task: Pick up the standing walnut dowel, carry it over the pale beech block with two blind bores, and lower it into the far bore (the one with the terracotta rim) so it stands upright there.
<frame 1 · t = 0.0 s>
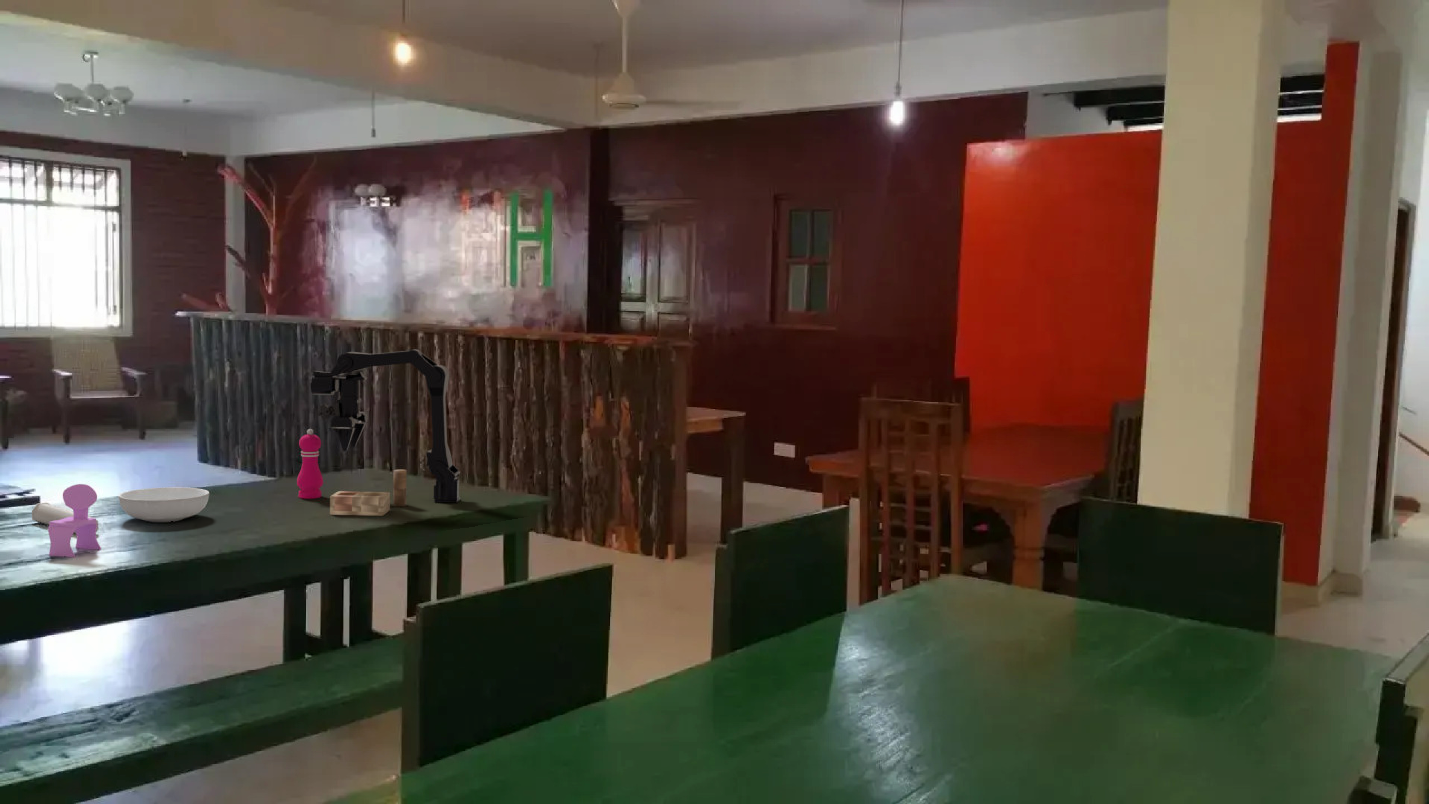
hand: (349, 449, 316), 15 cm above the table, tool pointing down, fingers open, 9 cm apart
serving bowl: (164, 520, 281), on the table
tube: (67, 530, 266), on the table
bore block: (360, 512, 298), on the table
toy chair: (74, 553, 242), on the table
pepper mill: (310, 497, 319), on the table
dowel: (399, 505, 311), on the table
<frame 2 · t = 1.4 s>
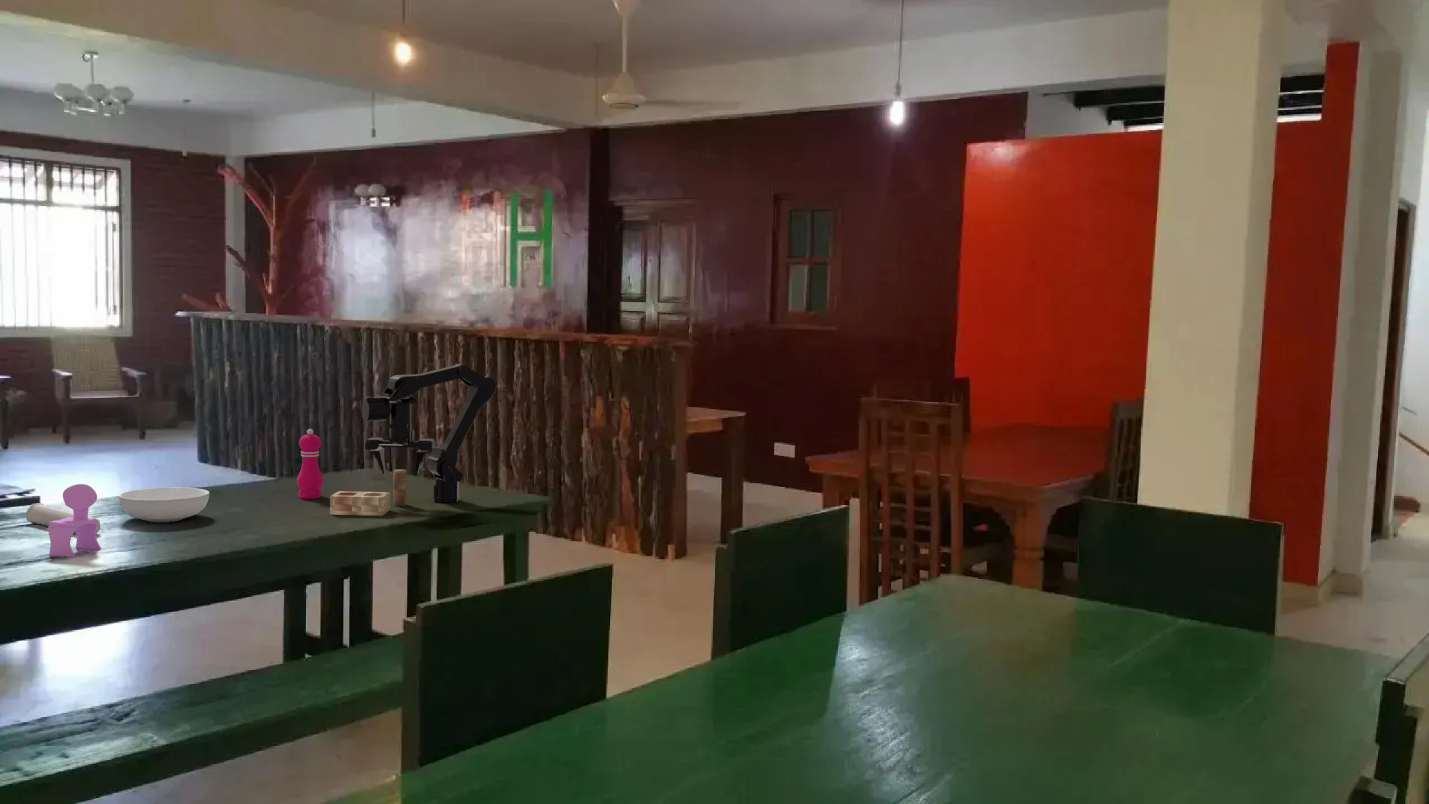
hand: (400, 474, 310), 9 cm above the table, tool pointing down, fingers open, 9 cm apart
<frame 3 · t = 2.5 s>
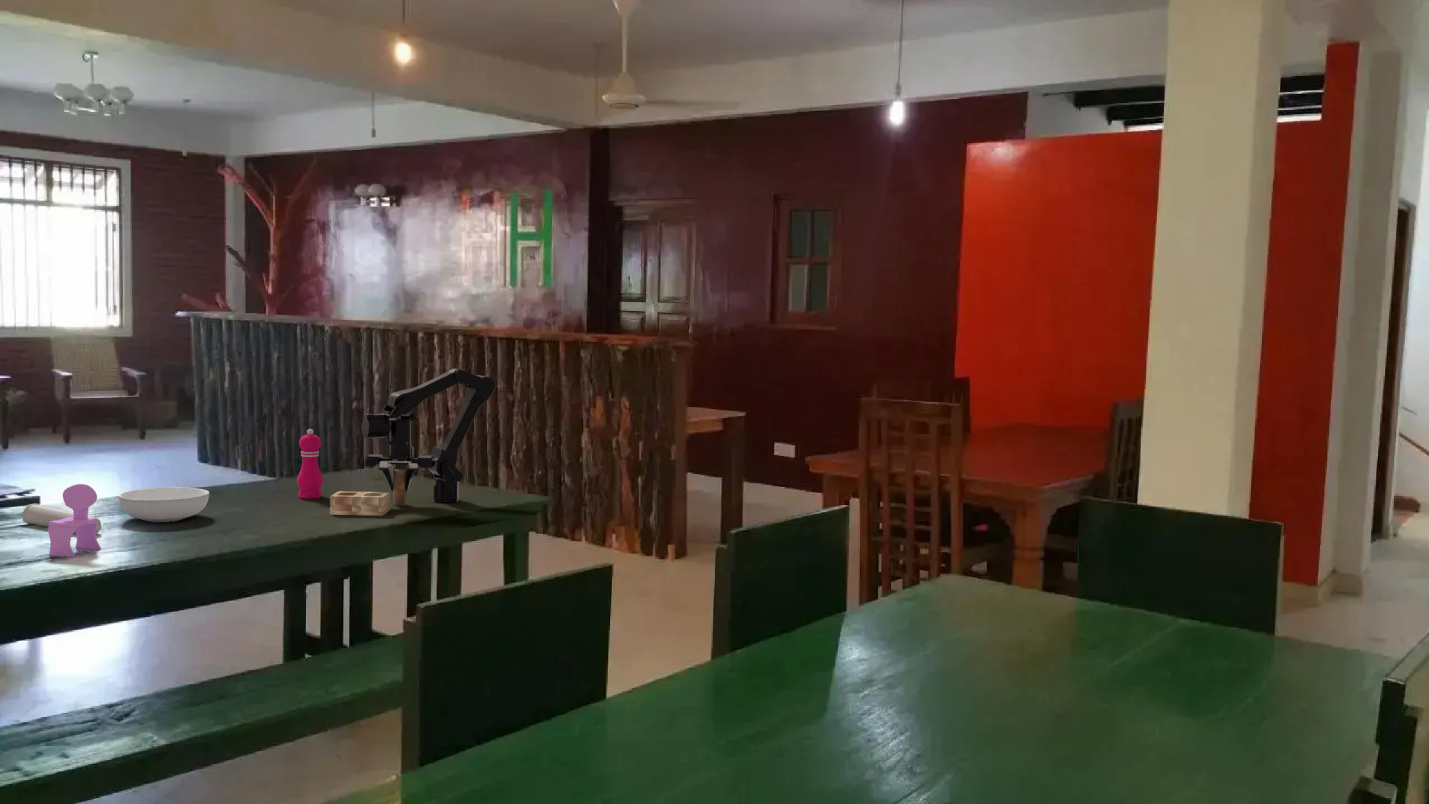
hand: (399, 491, 311), 4 cm above the table, tool pointing down, fingers closed on dowel, 4 cm apart
dowel: (399, 505, 311), on the table, touching gripper
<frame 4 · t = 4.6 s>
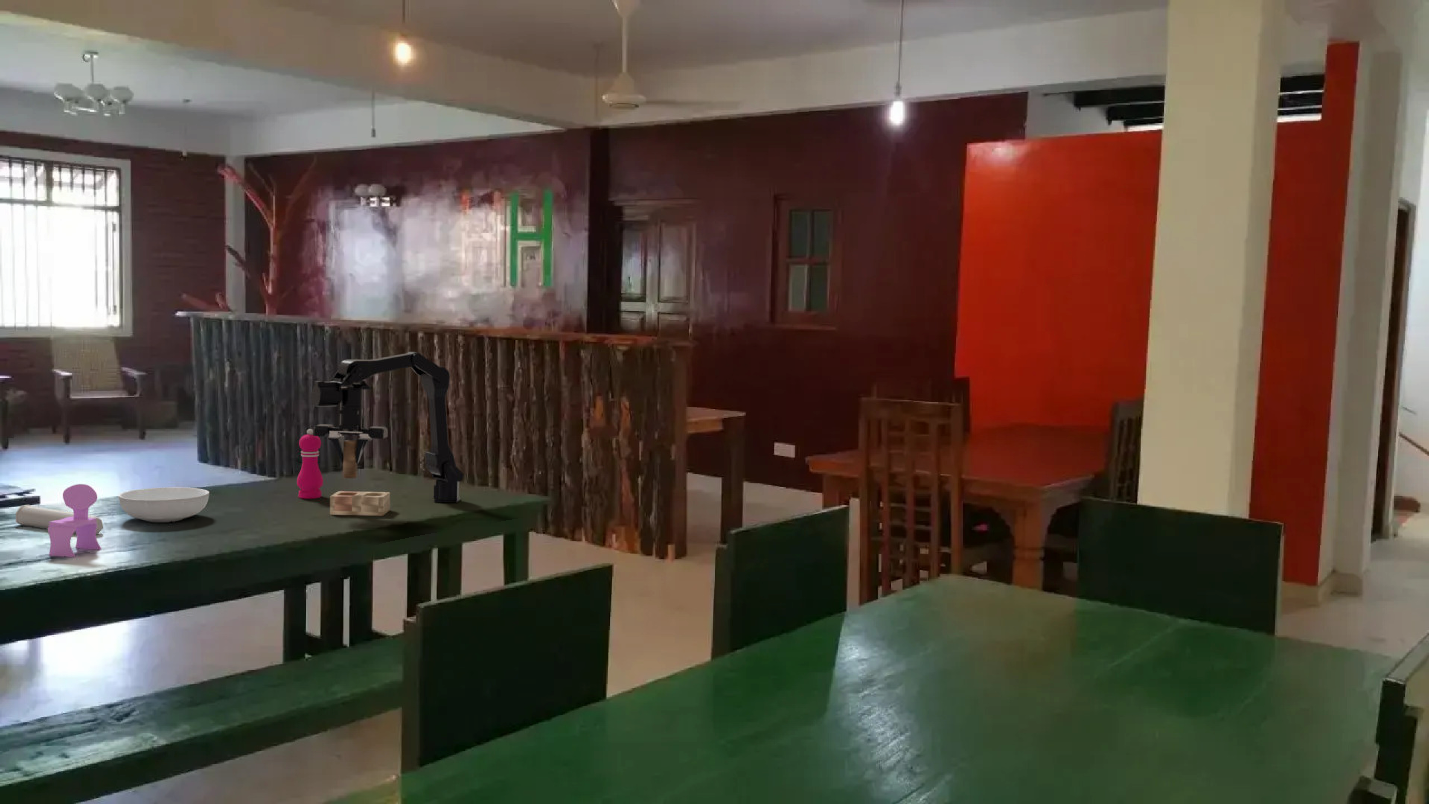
hand: (350, 462, 298), 14 cm above the table, tool pointing down, fingers closed on dowel, 4 cm apart
dowel: (349, 477, 298), point 10 cm above the table, touching gripper
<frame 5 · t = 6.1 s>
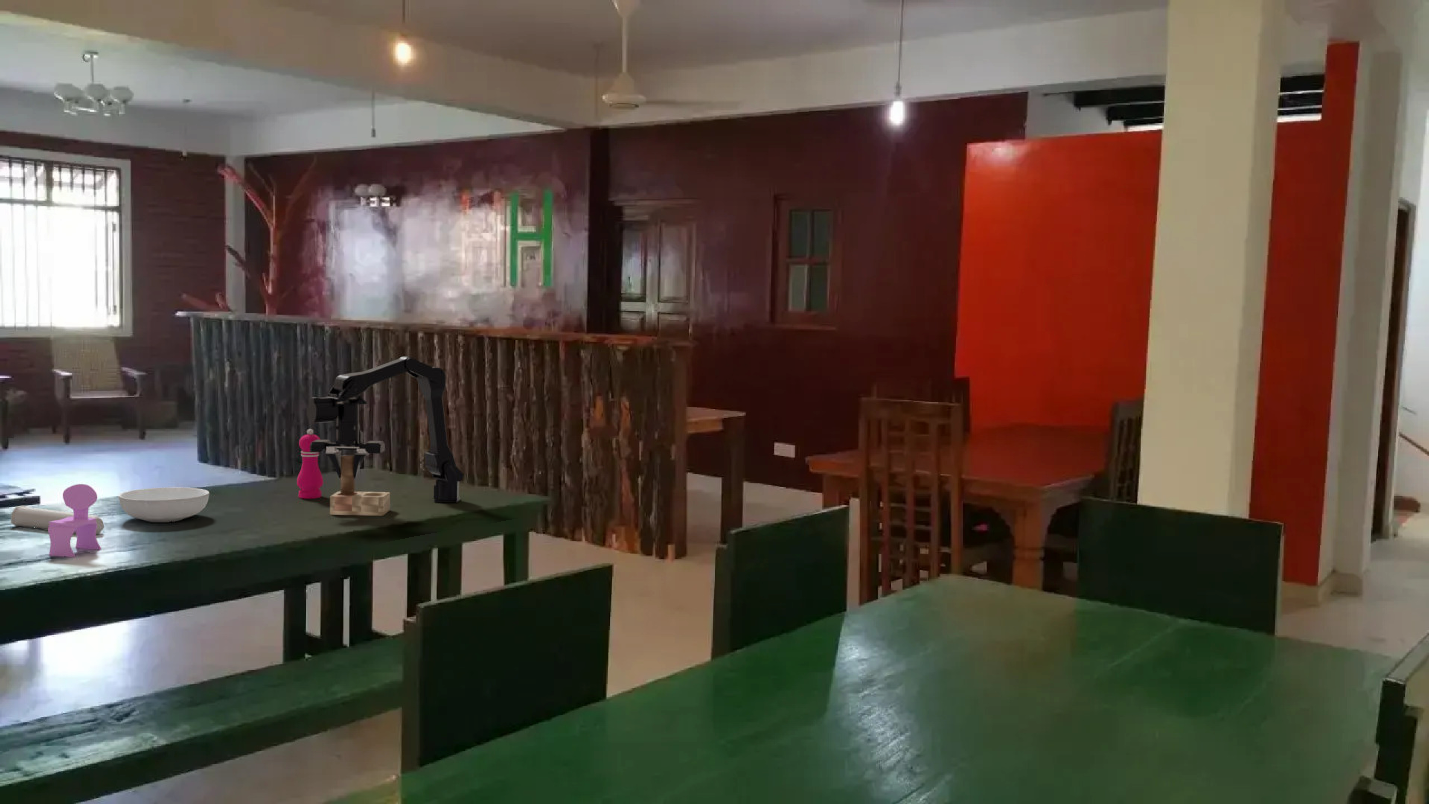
hand: (347, 477, 297), 9 cm above the table, tool pointing down, fingers closed on dowel, 4 cm apart
dowel: (347, 492, 298), point 5 cm above the table, touching gripper
when the fingers open (6 cm above the table, at t = 7.0 s): dowel drops 1 cm, resting on bore block.
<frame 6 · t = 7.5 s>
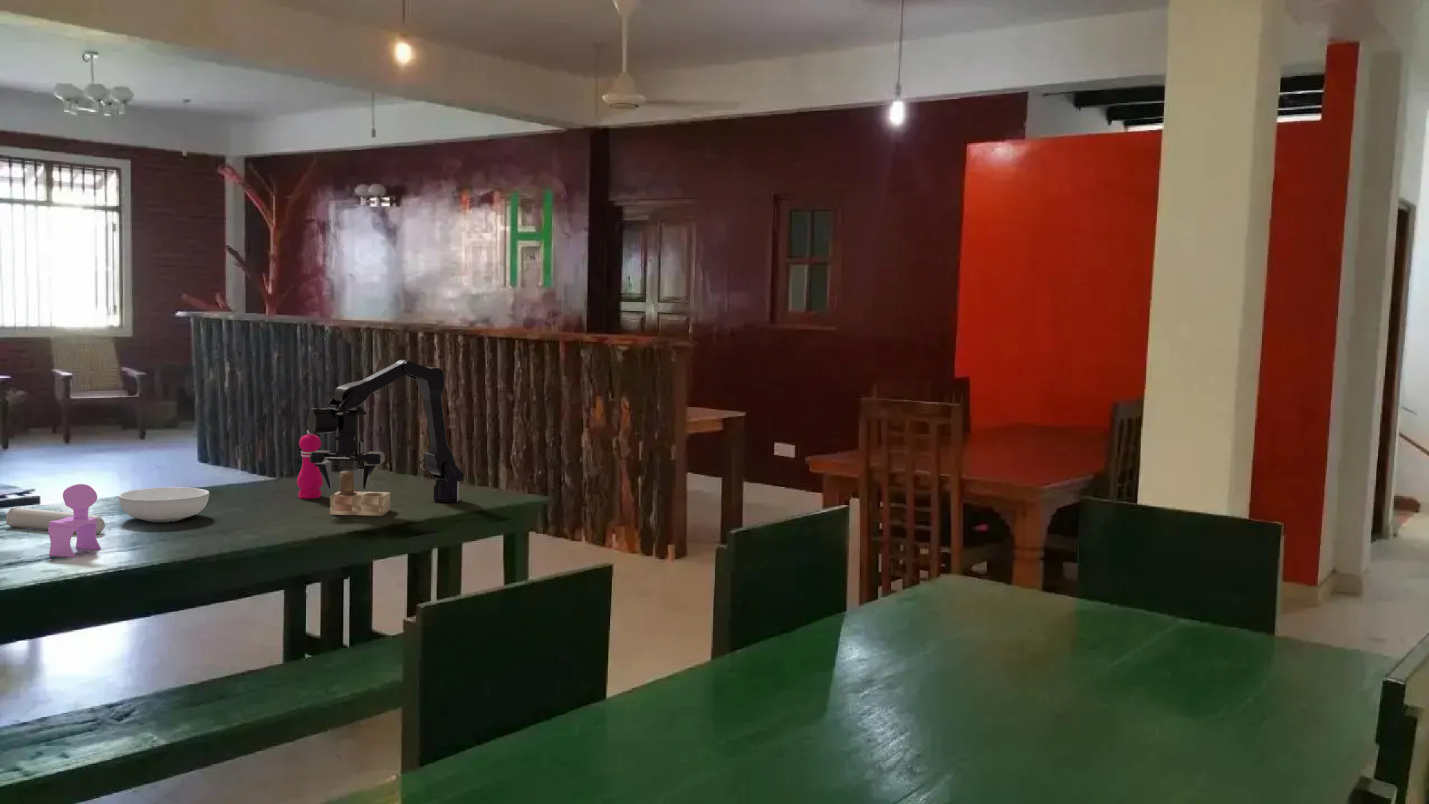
hand: (347, 488, 298), 6 cm above the table, tool pointing down, fingers open, 9 cm apart
dowel: (347, 508, 298), point 1 cm above the table, touching bore block
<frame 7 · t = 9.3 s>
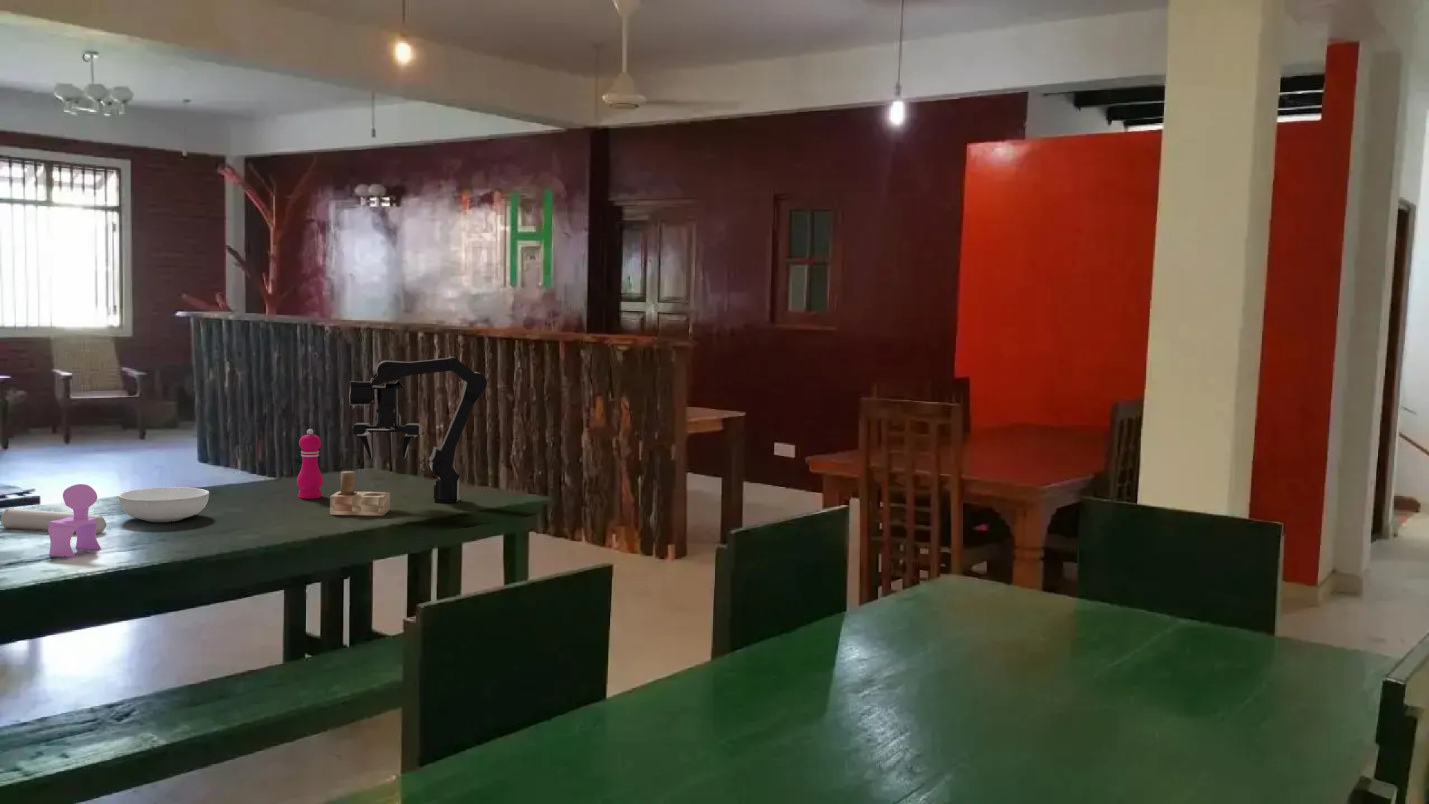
hand: (387, 458, 313), 13 cm above the table, tool pointing down, fingers open, 9 cm apart
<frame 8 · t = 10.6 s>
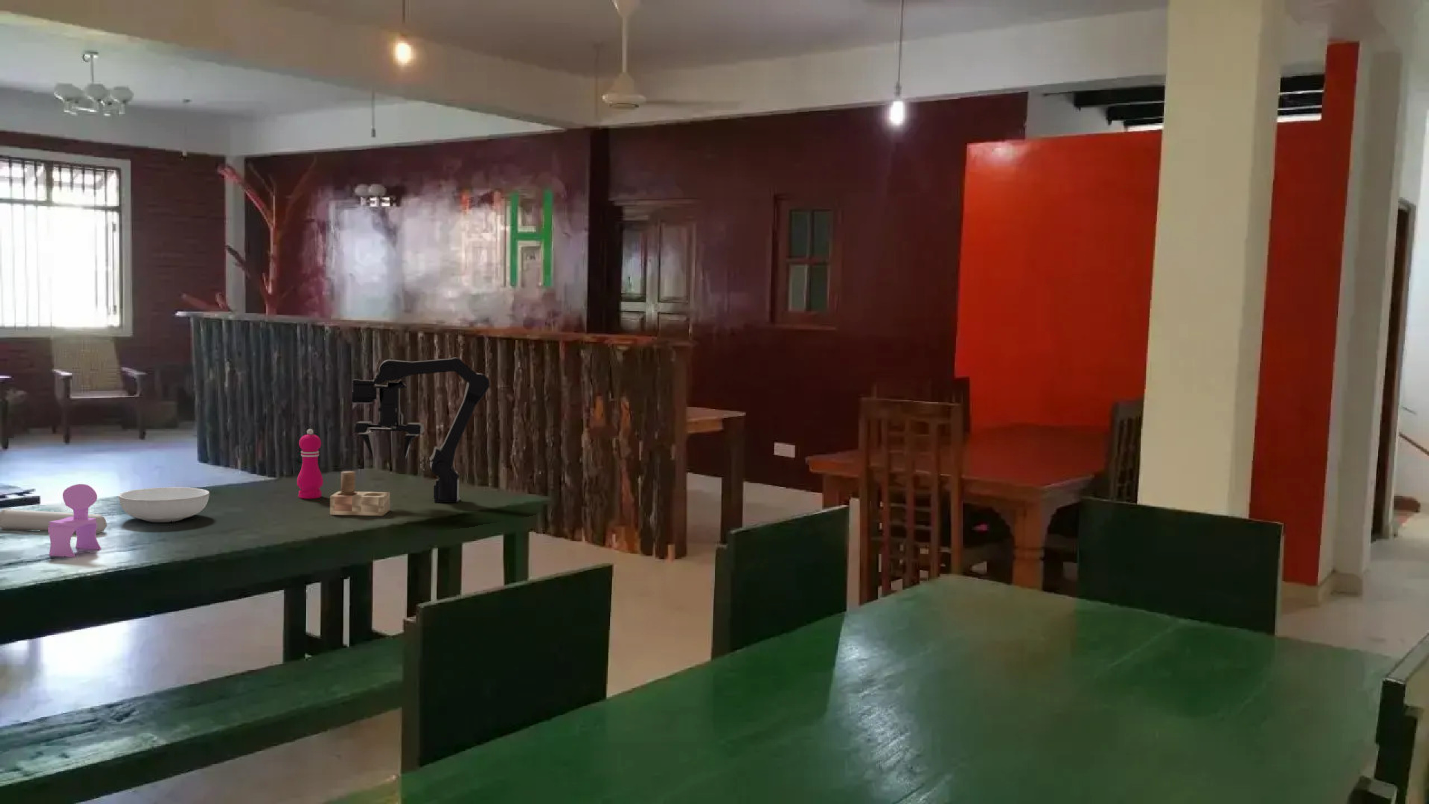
hand: (388, 457, 313), 13 cm above the table, tool pointing down, fingers open, 9 cm apart
at the end: dowel 0.1 cm from the target spot on the bore block, point 1.0 cm above the bore block's base; dowel tilted 1°; the gripper is holding nothing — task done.
